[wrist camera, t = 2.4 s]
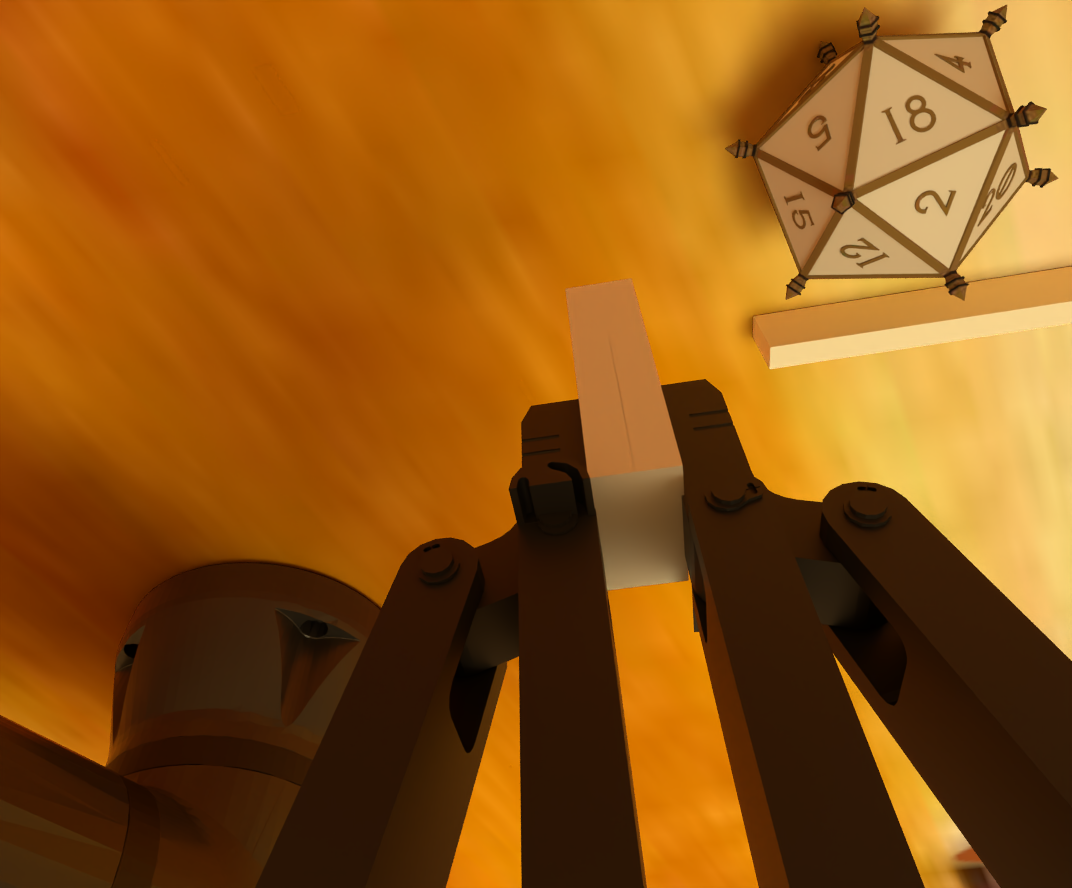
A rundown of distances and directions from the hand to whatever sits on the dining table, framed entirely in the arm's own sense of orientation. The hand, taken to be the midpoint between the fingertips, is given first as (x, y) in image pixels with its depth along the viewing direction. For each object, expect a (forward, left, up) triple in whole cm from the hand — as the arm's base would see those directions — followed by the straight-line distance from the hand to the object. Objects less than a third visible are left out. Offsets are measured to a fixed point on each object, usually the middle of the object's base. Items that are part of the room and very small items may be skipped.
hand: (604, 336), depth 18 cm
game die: (+10, 0, -12) cm, 15 cm away
